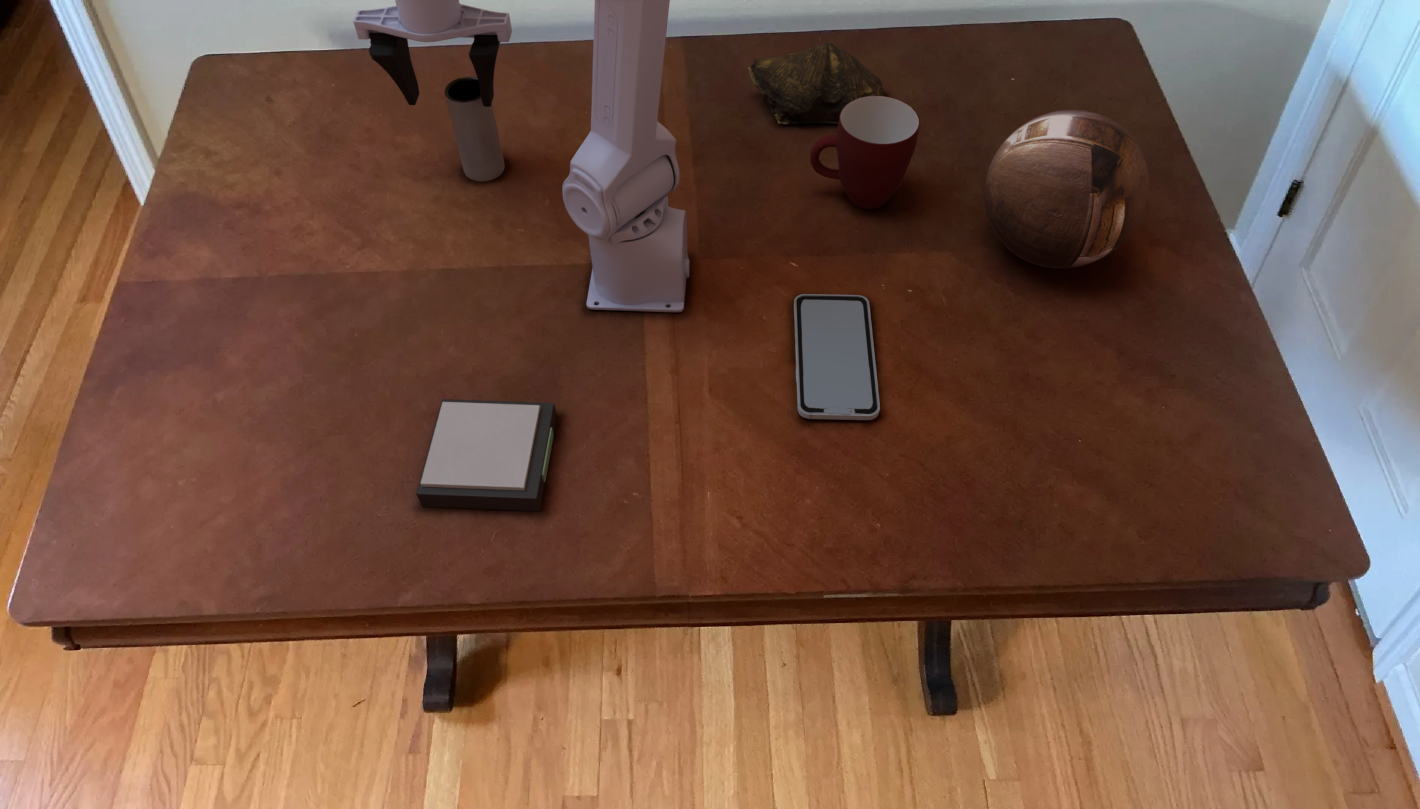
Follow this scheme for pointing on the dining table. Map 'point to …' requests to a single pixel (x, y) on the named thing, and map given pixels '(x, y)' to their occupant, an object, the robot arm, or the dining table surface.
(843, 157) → the mug
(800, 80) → the seashell
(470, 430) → the scale
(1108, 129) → the shiny copper ball
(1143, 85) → the dining table surface
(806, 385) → the smartphone
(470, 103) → the gray cylinder
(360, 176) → the dining table surface
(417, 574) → the dining table surface
